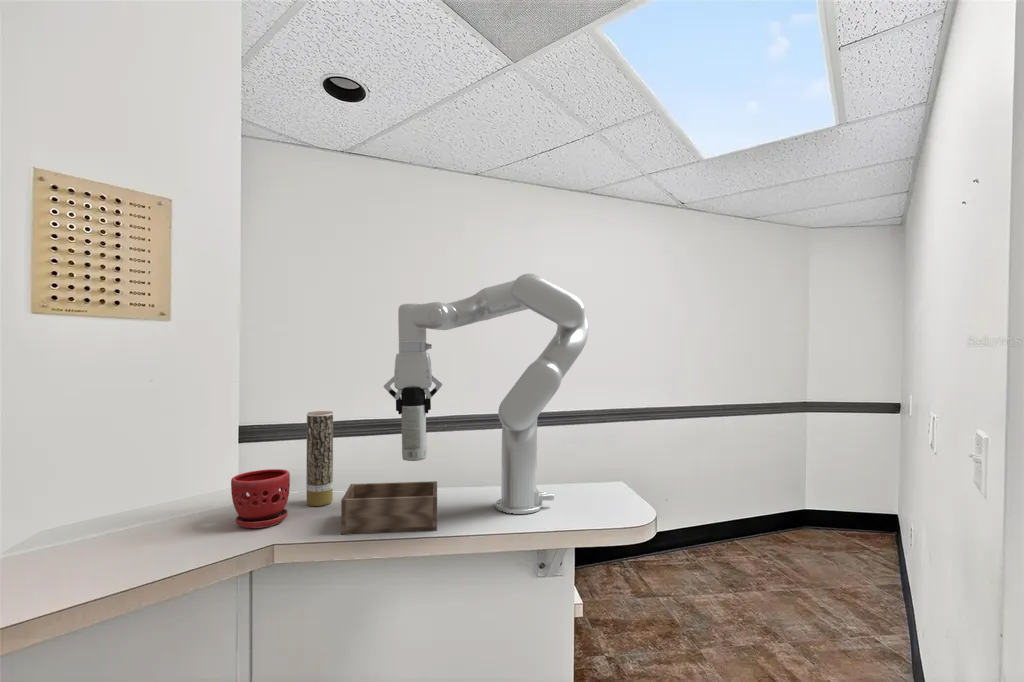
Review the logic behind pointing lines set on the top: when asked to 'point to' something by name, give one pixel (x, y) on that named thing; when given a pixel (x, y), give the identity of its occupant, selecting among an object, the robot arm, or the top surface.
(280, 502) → the plant pot
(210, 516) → the top surface
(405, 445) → the spray can
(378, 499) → the walnut box
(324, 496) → the paper tube
